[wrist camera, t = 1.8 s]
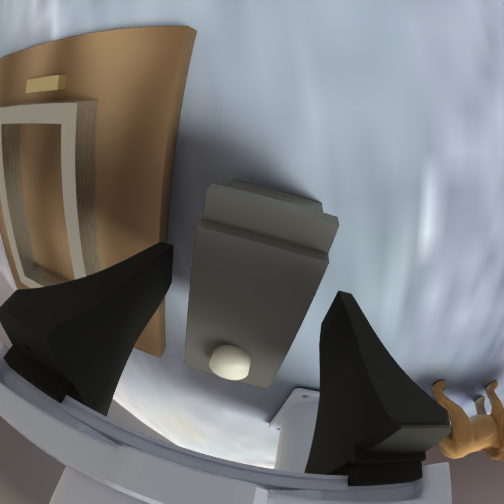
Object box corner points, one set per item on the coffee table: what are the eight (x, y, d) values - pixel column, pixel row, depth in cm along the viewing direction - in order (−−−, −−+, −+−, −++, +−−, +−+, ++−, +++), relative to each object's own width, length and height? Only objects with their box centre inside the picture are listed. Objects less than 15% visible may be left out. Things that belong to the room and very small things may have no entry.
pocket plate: (196, 30, 9) (172, 18, 7) (165, 348, 20) (152, 373, 18) (1, 60, 10) (-24, 64, 8) (23, 282, 20) (7, 297, 18)
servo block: (328, 181, 12) (343, 242, 7) (276, 325, 17) (262, 407, 12) (239, 157, 12) (193, 202, 7) (211, 307, 17) (179, 383, 12)
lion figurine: (525, 368, 15) (549, 438, 8) (497, 399, 18) (514, 464, 11) (417, 379, 17) (433, 483, 10) (391, 411, 20) (396, 500, 12)
